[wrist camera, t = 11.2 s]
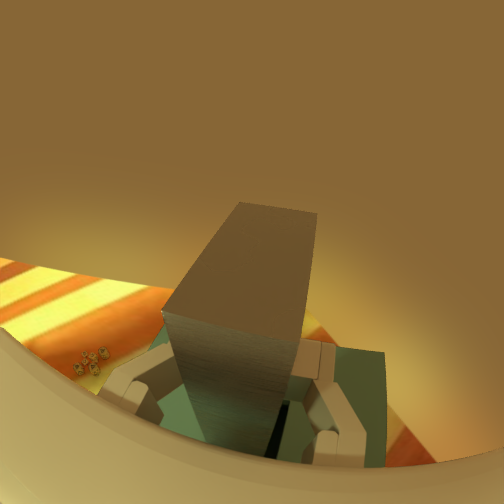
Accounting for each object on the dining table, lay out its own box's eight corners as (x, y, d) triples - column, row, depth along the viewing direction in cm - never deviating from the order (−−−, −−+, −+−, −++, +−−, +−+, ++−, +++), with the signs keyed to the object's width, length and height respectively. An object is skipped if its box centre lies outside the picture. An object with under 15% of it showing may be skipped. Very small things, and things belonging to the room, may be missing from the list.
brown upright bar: (261, 463, 10) (299, 343, 4) (209, 450, 10) (160, 310, 5) (282, 381, 14) (317, 213, 8) (238, 371, 14) (239, 202, 9)
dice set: (112, 354, 36) (108, 347, 35) (103, 382, 31) (98, 375, 30) (85, 350, 35) (81, 343, 34) (76, 376, 31) (70, 369, 30)
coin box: (313, 555, 13) (364, 574, 5) (132, 509, 17) (66, 493, 9) (341, 413, 29) (384, 352, 21) (191, 382, 33) (172, 311, 25)
